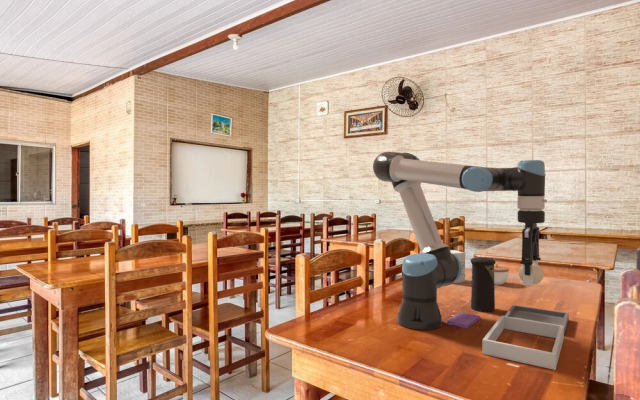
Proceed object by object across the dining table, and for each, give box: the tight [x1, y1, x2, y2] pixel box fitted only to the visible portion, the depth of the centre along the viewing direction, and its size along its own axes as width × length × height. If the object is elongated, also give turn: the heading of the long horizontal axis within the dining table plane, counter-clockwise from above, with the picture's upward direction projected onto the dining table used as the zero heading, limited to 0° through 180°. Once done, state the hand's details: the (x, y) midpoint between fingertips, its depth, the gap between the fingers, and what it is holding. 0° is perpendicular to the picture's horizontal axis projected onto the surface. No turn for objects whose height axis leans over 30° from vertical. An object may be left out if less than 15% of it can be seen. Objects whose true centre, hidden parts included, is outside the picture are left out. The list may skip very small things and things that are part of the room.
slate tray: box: [504, 304, 570, 337], centre depth 140 cm, size 18×18×2 cm
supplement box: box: [450, 249, 466, 285], centre depth 201 cm, size 9×9×15 cm
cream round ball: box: [518, 263, 545, 285], centre depth 126 cm, size 7×7×7 cm
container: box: [470, 256, 496, 313], centre depth 155 cm, size 9×9×20 cm
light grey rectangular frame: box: [481, 315, 565, 371], centre depth 119 cm, size 26×18×4 cm
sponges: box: [446, 312, 481, 329], centre depth 141 cm, size 7×13×2 cm, turn 139°
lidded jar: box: [494, 263, 510, 286], centre depth 196 cm, size 11×11×9 cm
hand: (530, 282), depth 126 cm, fingers closed on cream round ball, 7 cm apart
